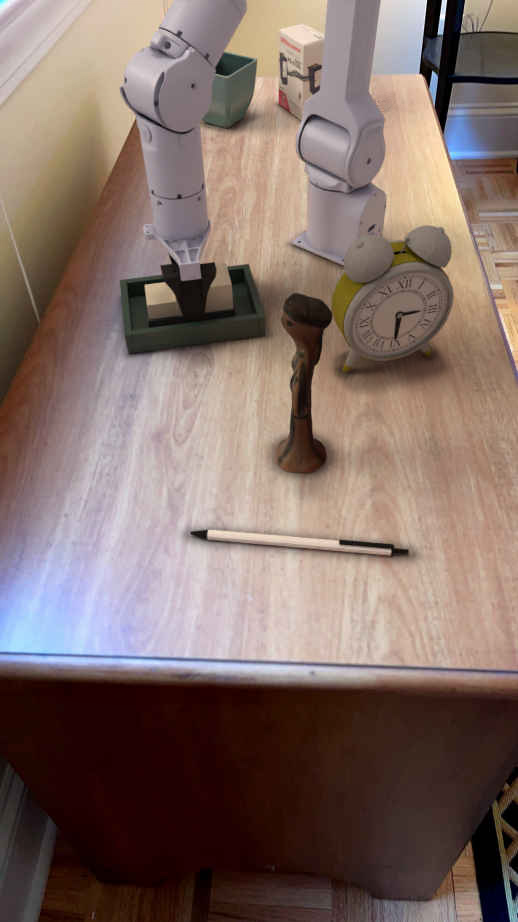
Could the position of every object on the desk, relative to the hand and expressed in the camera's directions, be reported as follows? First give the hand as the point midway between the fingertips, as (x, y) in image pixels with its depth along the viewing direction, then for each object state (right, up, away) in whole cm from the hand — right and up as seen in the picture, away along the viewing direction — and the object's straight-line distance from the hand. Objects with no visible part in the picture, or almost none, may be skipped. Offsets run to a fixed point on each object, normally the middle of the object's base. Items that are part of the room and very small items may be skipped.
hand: (190, 297), depth 79 cm
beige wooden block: (0, -1, +1) cm, 2 cm away
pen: (+11, -26, -19) cm, 34 cm away
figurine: (+12, -18, -12) cm, 25 cm away
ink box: (+15, +41, +38) cm, 58 cm away
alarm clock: (+21, -7, -3) cm, 23 cm away
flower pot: (+2, +38, +36) cm, 53 cm away
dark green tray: (0, -2, +2) cm, 3 cm away
